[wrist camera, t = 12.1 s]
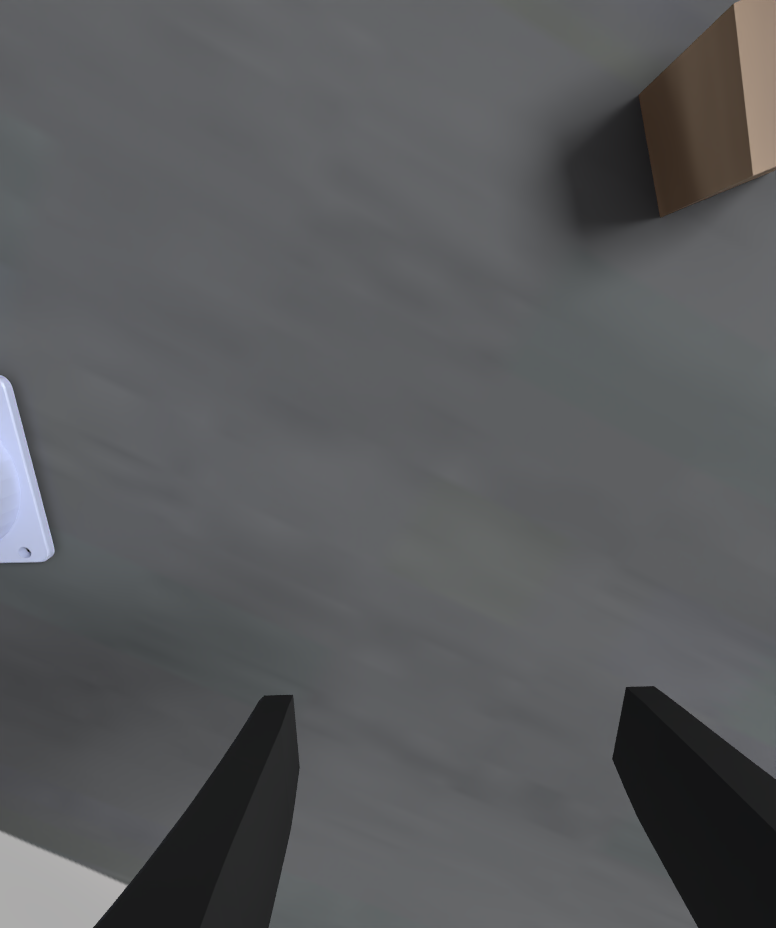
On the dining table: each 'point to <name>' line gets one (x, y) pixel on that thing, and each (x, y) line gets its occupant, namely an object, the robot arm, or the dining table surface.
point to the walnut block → (715, 109)
